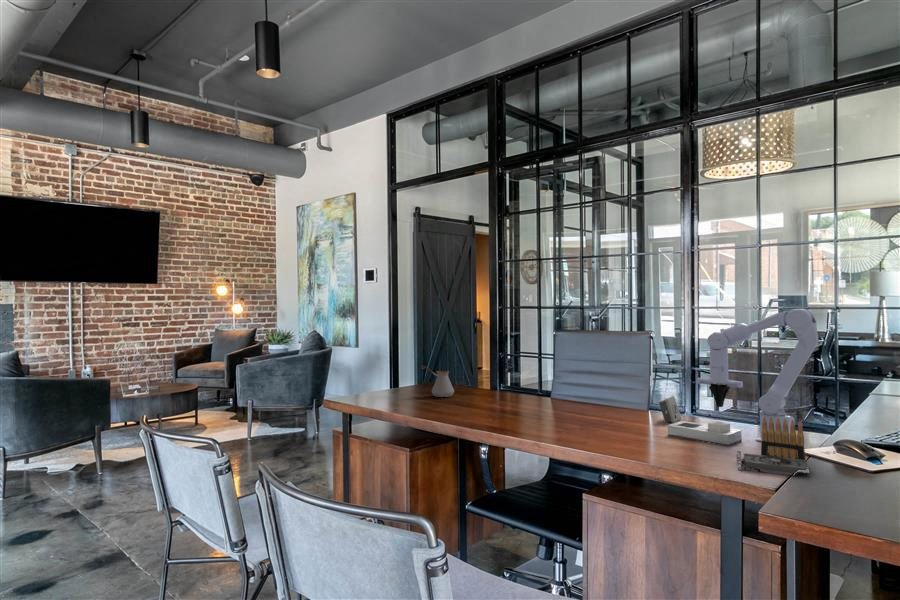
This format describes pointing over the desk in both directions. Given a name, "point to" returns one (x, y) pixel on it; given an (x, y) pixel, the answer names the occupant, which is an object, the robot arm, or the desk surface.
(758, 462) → the graphics card
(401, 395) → the desk surface
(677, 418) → the electrical switch
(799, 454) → the ammunition clip
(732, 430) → the socket plate
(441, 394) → the coffee pot
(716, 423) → the plug
